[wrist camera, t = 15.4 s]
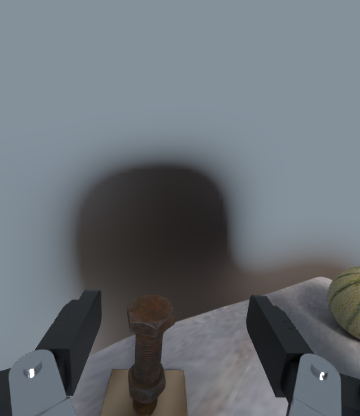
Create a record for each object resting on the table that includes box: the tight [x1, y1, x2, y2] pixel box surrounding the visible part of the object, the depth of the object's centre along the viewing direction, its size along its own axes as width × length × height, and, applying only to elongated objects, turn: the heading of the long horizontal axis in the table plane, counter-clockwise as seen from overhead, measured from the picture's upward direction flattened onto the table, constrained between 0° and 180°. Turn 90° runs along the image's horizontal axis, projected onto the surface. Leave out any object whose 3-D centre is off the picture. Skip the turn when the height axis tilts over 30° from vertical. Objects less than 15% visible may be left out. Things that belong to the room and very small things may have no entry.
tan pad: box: [100, 369, 187, 416], centre depth 30 cm, size 11×10×1 cm
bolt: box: [127, 295, 175, 416], centre depth 28 cm, size 6×5×15 cm
